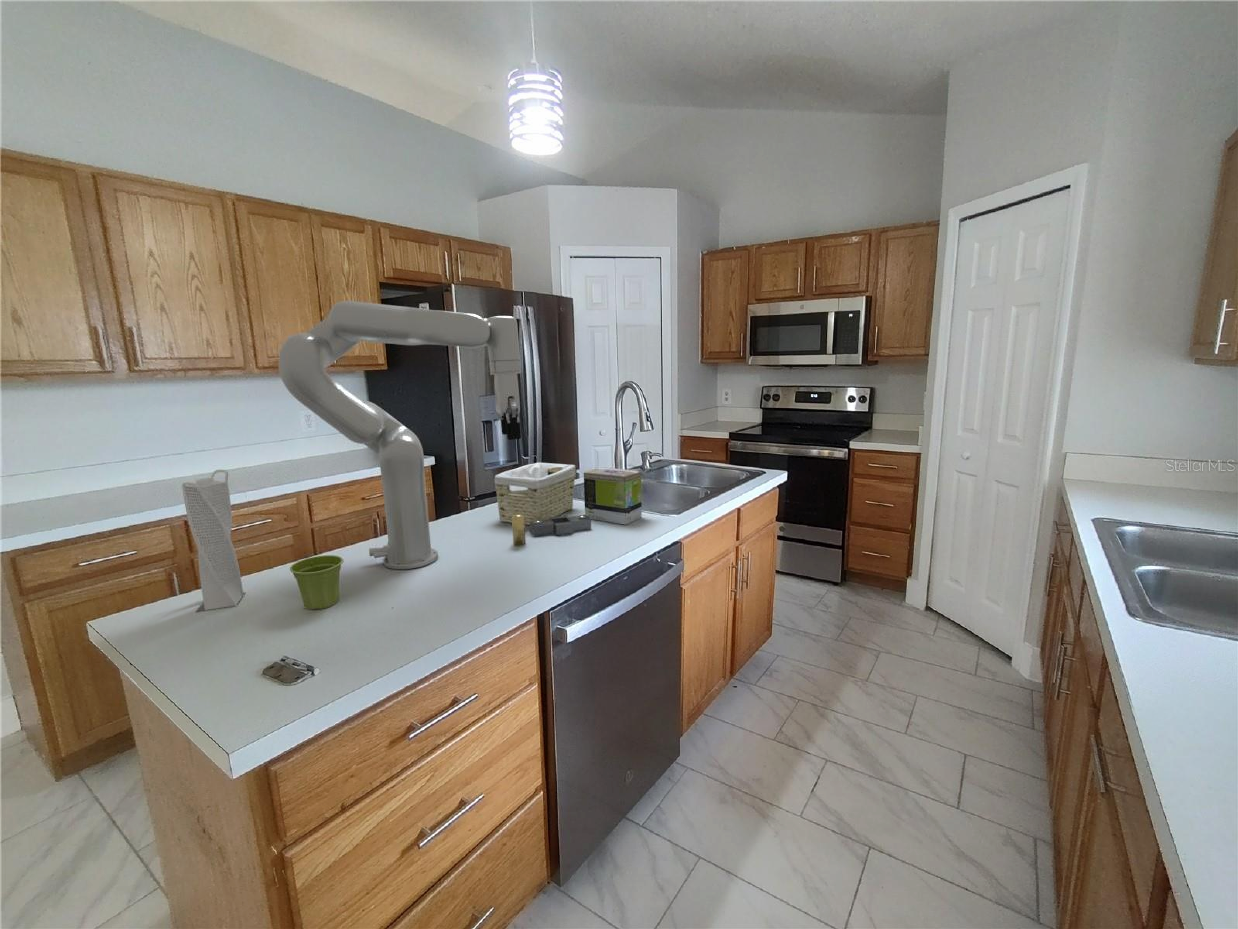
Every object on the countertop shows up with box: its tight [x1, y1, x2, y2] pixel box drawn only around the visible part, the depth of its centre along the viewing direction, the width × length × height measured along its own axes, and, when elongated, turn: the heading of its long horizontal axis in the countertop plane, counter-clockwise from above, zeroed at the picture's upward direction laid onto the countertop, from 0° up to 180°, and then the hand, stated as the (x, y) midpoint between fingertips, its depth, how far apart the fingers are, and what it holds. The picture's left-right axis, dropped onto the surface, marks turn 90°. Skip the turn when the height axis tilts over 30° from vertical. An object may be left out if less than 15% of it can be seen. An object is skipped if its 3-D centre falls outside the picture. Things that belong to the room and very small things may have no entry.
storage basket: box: [494, 462, 577, 526], centre depth 171 cm, size 24×16×15 cm
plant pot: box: [289, 554, 344, 611], centre depth 112 cm, size 9×9×9 cm
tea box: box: [583, 466, 643, 525], centre depth 167 cm, size 15×10×15 cm, turn 58°
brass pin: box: [511, 513, 527, 547], centre depth 146 cm, size 3×3×8 cm
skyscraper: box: [181, 469, 246, 613], centre depth 111 cm, size 8×8×28 cm
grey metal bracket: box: [529, 514, 592, 537], centre depth 157 cm, size 17×9×4 cm, turn 110°
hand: (511, 436), depth 139 cm, fingers open, 9 cm apart
